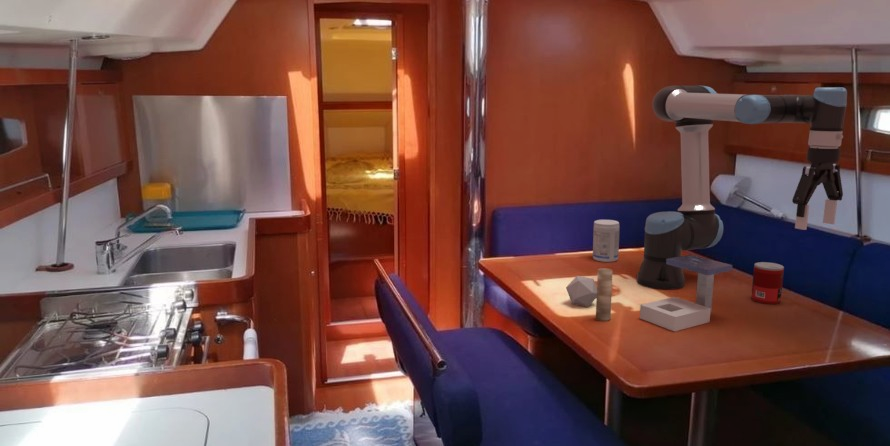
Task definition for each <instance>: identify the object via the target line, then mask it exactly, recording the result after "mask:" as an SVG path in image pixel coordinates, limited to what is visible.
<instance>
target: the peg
mask: <svg viewBox="0 0 890 446" xmlns="http://www.w3.org/2000/svg"><path fill="white" fill-rule="evenodd" d="M613 273H614V272H613V269H611V268H604V267H603V268H598V269H597V275H596V276H597V279H596V280H597V281H596V282H597V283H596V287H597V298H596V299H595V300H596V301H595V302H596V303H595V320H597V321H600V322H609V321H611V316H612V315H611V314H612V292H613Z"/></svg>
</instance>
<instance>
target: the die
mask: <svg viewBox="0 0 890 446" xmlns="http://www.w3.org/2000/svg"><path fill="white" fill-rule="evenodd" d="M565 289H566V292H567V293H568V297H569V299H570V302H571V304H572V305H578V306H581V307H590V305H591V304H592V303H593V302H594V301H595V300H596V299H597V283H596V282H595V279H594V278H593V277H585V276H580V275H576V276H575V277H574V278H573V279H572V281H570V283H569V284H568V285H567V286H566V287H565Z"/></svg>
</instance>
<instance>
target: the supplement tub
mask: <svg viewBox="0 0 890 446" xmlns="http://www.w3.org/2000/svg"><path fill="white" fill-rule="evenodd" d="M592 238H593V240H592V259H593V260H594V261H596V262H603V263H612V262H616V261H618V260H619V254H620V253H619V249H620V248H619V247H620V222H619V221H618V220H614V219H597V220H594V221H593V234H592Z"/></svg>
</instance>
